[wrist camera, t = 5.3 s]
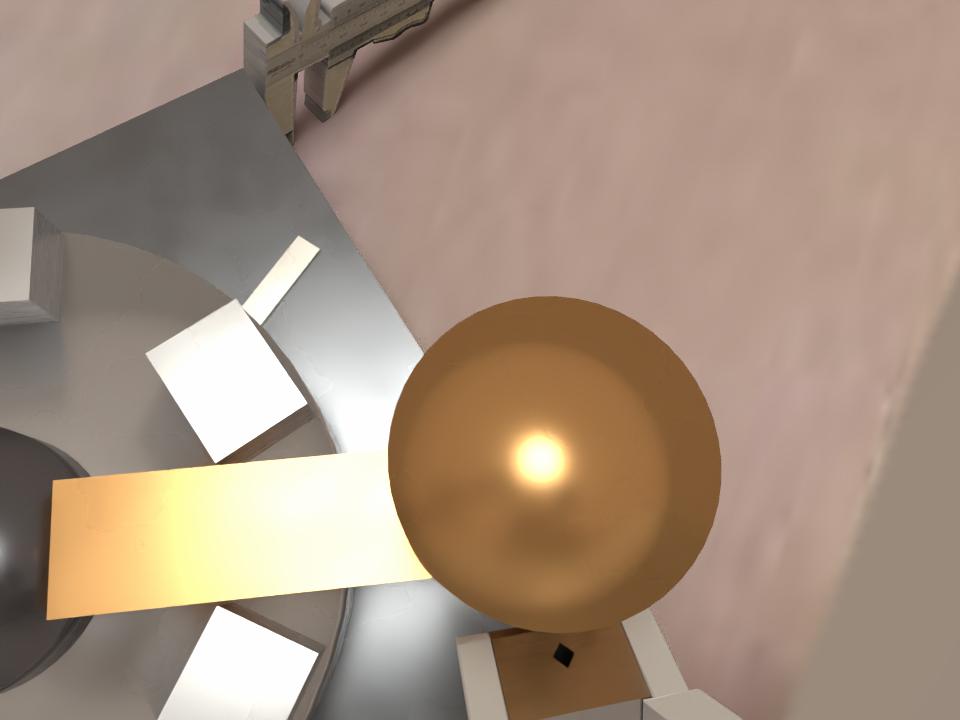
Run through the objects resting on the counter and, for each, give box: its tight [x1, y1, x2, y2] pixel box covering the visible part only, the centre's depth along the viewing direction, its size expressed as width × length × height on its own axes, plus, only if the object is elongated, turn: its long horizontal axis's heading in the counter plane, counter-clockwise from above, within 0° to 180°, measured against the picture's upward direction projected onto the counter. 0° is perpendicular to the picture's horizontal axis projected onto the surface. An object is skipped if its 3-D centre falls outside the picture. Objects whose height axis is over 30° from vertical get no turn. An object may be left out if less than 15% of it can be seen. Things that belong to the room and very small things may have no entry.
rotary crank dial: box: [0, 207, 721, 720], centre depth 12 cm, size 19×14×11 cm
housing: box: [0, 68, 514, 720], centre depth 19 cm, size 20×20×4 cm
